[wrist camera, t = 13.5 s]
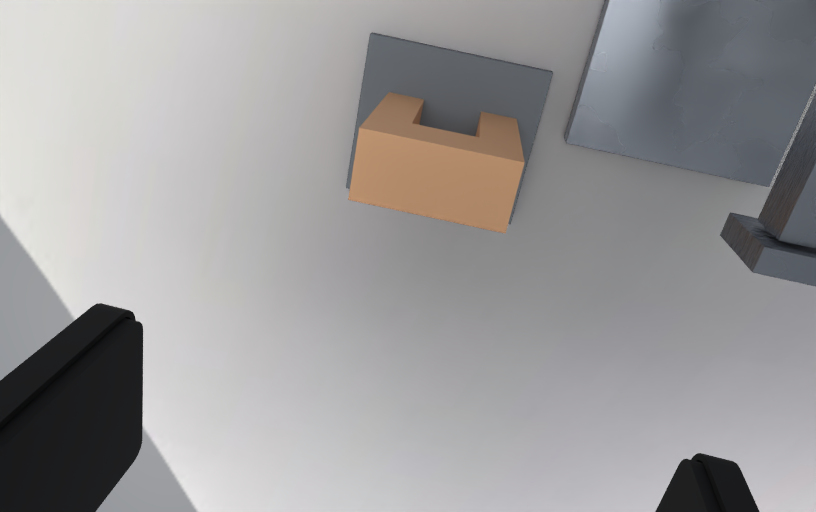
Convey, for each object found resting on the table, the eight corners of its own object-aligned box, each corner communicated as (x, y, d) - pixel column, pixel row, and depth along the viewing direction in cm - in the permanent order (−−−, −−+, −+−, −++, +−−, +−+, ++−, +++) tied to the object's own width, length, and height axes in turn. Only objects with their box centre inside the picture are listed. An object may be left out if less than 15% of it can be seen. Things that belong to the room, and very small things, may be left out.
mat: (551, 71, 31) (552, 72, 31) (509, 220, 35) (510, 224, 34) (372, 32, 31) (370, 33, 31) (348, 184, 35) (345, 188, 34)
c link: (516, 118, 32) (524, 162, 24) (501, 175, 33) (505, 233, 26) (388, 92, 32) (359, 127, 25) (379, 149, 33) (348, 199, 26)
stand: (877, -86, 27) (1292, -147, 13) (759, 179, 32) (966, 340, 18) (645, -134, 27) (807, -243, 13) (564, 137, 32) (620, 263, 18)
